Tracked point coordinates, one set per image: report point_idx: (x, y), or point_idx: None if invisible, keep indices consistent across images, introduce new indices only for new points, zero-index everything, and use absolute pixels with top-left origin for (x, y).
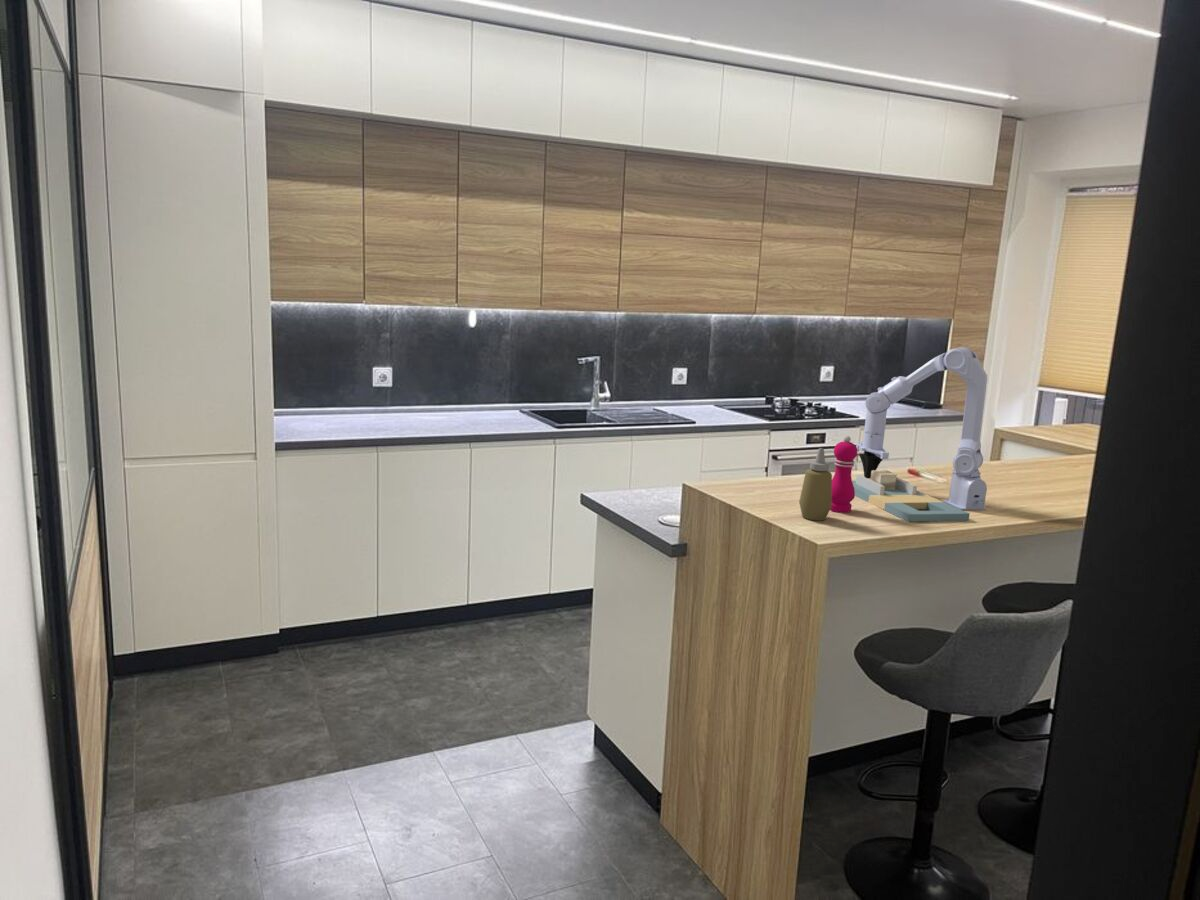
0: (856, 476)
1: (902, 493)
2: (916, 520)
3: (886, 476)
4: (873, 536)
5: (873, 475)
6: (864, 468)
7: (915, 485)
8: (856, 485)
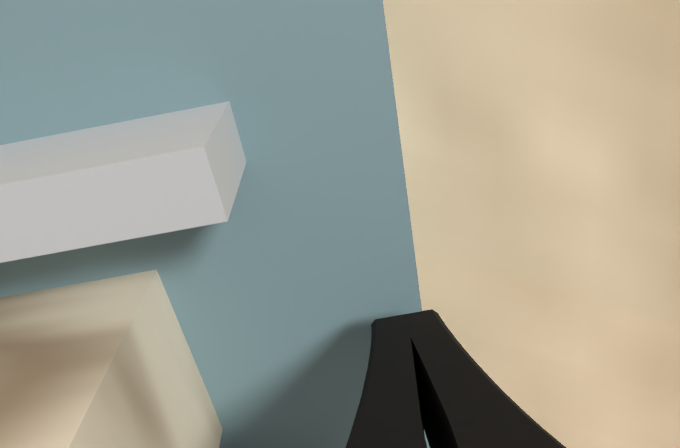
0: (198, 139)
1: None
2: None
3: None
4: None
5: (20, 397)
6: (449, 395)
7: None
8: (83, 69)
